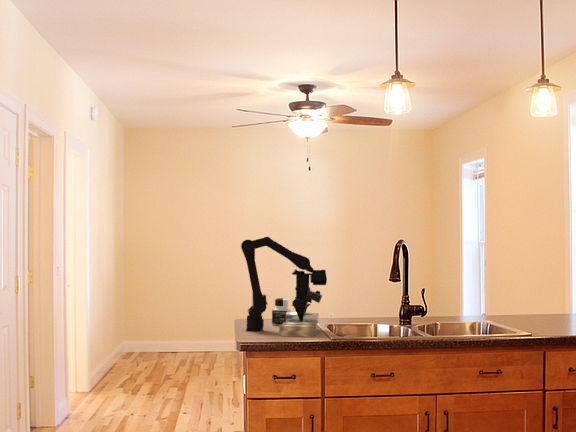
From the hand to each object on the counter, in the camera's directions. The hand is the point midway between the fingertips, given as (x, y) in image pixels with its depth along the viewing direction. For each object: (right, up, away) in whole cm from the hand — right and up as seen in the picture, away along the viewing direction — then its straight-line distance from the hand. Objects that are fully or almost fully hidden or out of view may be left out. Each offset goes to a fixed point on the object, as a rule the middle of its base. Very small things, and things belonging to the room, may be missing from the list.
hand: (302, 321), depth 298 cm
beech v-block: (-2, -4, -12) cm, 13 cm away
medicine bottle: (-9, -5, +18) cm, 21 cm away
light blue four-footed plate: (0, -4, 0) cm, 4 cm away
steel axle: (0, +1, 0) cm, 1 cm away
